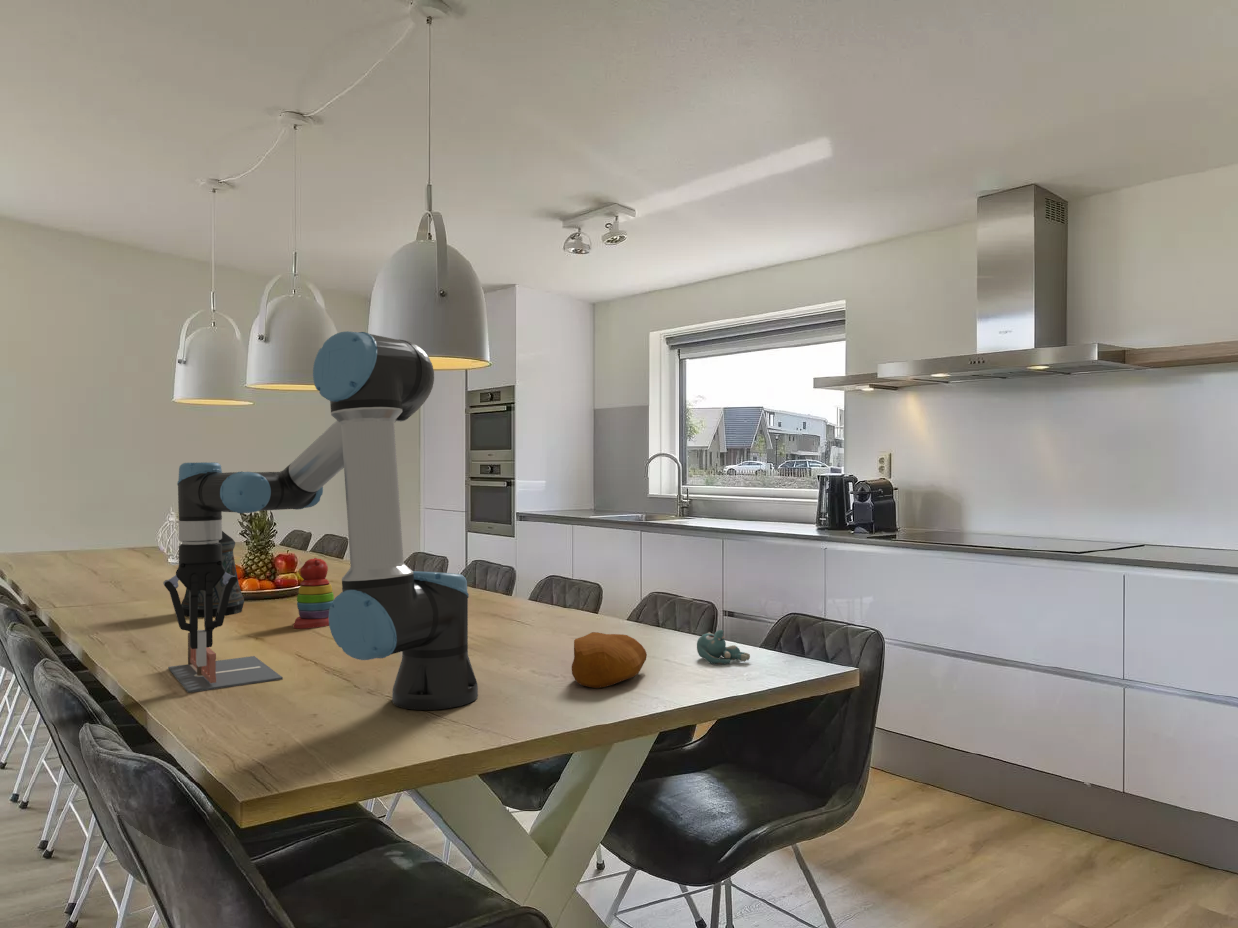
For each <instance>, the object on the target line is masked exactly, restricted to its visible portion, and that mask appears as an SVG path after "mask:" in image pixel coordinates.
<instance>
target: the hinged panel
mask: <svg viewBox="0 0 1238 928" xmlns="http://www.w3.org/2000/svg"><path fill="white" fill-rule="evenodd" d="M216 659H217V653H216V652H215V651H213V650H212V649H211V647H206V663H207V666H202V669H201V674H202V675H203V676H204V677H205V678H206V679H207V680H208V681H209V682H210V683H215V682H216V661H217V660H216Z"/></svg>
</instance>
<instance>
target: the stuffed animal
mask: <svg viewBox="0 0 1238 928" xmlns="http://www.w3.org/2000/svg"><path fill="white" fill-rule="evenodd" d="M724 632H725V631H724V630H723V629H718V630H717V631H715V632H714V633H711V632H710V631H708V632H706V633H704V634H702V635H701V636H699V638H698V639H697V641H696V652H697V654H698V656H699V657H701V658H702V659H704V660H705V661H707V663H708V664H711V665H717V666H718V665H719V666H724V665H729V664H731V661H736V660H739V661H741V662H745V663H746V662H747V661H749V660H750V658H751V655H750V654H749V652H744V651H741V650H740V648H739V647H738V646H737V645H734V644H733V645H729V646H727V643H726V640H725V638H726V637H725V636H724Z"/></svg>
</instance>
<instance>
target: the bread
mask: <svg viewBox="0 0 1238 928" xmlns="http://www.w3.org/2000/svg"><path fill="white" fill-rule="evenodd" d="M647 655H648V654H647V650H646V649H645V647H644V646H643V645H642V643H640V642H639V641H638V640H637V639H635V638H633V637H631V636H629V635H628V634H619V633H608V634H606V633H602V632H594V631H593V632H590V633H588V634H585V635H584V636H583V635H582V636H580V637H578V638H575V639H574V640H573V661H572V664H571V675H572V676H573V678H574V680H575V681H576V682H577V683H578V684H579V685H581V686H583V687H588V688H592V689H601V688H606V687H610V686H613V685H615V684H619V683H620V682H624V681H625V680H629V679H633V678H634V677H635V676H636V675H638V674H639V673H640V672H641V670H642V668H643V666H644V664H645V662H646V660H647V657H648V656H647Z"/></svg>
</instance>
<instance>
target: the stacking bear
mask: <svg viewBox="0 0 1238 928" xmlns="http://www.w3.org/2000/svg"><path fill="white" fill-rule="evenodd" d="M297 572H298V575H299V576H300V577H301V578H302V579H303V580H302V581H301V582H300V586H298V587H299V588H298V594H297V596H296V606H297V609H298V610H297V611H298V615H299V616H298V617H296V618H295V620H294V623H293V629H297V630H303V629H315V628H323V627H328V626H329V609H330V606H331V605H332V604H333V600H334V599H335V596H334V592H333V586H332V584H331V583H330V581H329V580H328V579H327V578H326V577H327V575H328V572H329V568H328V564H327V562H326V561H325V560H323V559H321V558H317V557H313V558H309V559H308V560H306V561H305V562H304V564H303V565H302V566H301V567H300V568H299V569H298V571H297Z"/></svg>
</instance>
